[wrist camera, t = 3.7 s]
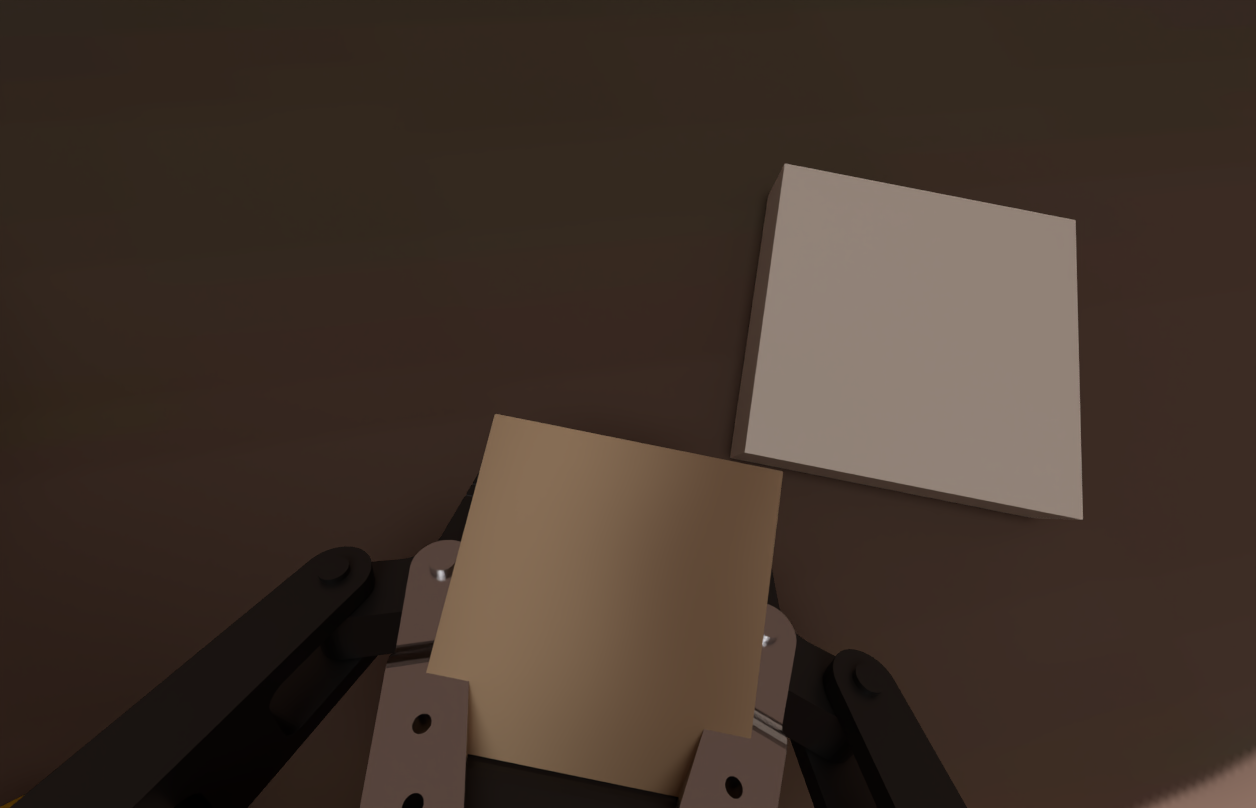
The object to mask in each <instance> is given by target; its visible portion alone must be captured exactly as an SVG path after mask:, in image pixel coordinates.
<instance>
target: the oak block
mask: <svg viewBox="0 0 1256 808" xmlns="http://www.w3.org/2000/svg"><path fill="white" fill-rule="evenodd" d="M782 476H783V471H778V470H773V469H768V468H763V467H758V466H753V465H748V464H743V463H738V462H733V461H728V460H723V459H718V458H713V457H708V456H703V455H698V454H693V453H688V452H683V451H678V450H673V449H668V448H663V447H658V446H653V445H648V444H643V443H638V442H633V441H628V440H623V439H618V438H613V437H608V436H603V435H598V434H594V433H589V432H584V431H579V430H574V429H569V428H564V427H559V426H554V425H549V424H544V423H539V422H534V421H529V420H524V419H519V418H514V417H509V416H504V415H499V414H495V416H494V420H493V423H492V427H491V431H490V435H489V439H488V442H487V446H486V450H485V454H484V457H483V461H482V465H481V469H480V472H479V476H478V480H477V484H476V487H475V491H474V495H473V499H472V502H471V506H470V510H469V514H468V517H467V521H466V525H465V529H464V532H463V536H462V540H461V544H460V547H459V551H458V555H457V559H456V562H455V566H454V570H453V574H452V577H451V581H450V585H449V589H448V592H447V596H446V600H445V604H444V607H443V611H442V615H441V619H440V623H439V626H438V630H437V634H436V638H435V641H434V645H433V649H432V653H431V656H430V660H429V664H428V668H427V671H426V673H430V674H435V675H440V676H445V677H450V678H455V679H460V680H465V681H469V731H468V754H471V755H476V756H481V757H486V758H491V759H496V760H500V761H505V762H510V763H515V764H520V765H525V766H530V767H535V768H539V769H544V770H549V771H554V772H559V773H564V774H569V775H573V776H578V777H583V778H588V779H593V780H598V781H603V782H608V783H612V784H617V785H622V786H627V787H632V788H637V789H642V790H646V791H651V792H656V793H661V794H666V795H671V796H676V797H679V795H680V791H681V788H682V785H683V782H684V779H685V777H686V774H687V771H688V769H689V766H690V764H691V761H692V759H693V756H694V753H695V751H696V748H697V746H698V743H699V741H700V738H701V735H702V733H703V730H704V729H706V730H711V731H716V732H721V733H726V734H731V735H735V736H740V737H745V738H750V739H751V734H752V726H753V717H754V709H755V701H756V692H757V684H758V676H759V667H760V659H761V651H762V642H763V634H764V626H765V618H766V609H767V601H768V593H769V584H770V576H771V568H772V559H773V551H774V543H775V534H776V526H777V518H778V509H779V501H780V493H781V484H782ZM427 730H428V729H427ZM427 730H424V731H422V732H420V733H419V734H422V733H424V732H426V731H427ZM727 793H728V792H727ZM728 794H729V793H728ZM729 795H730V794H729Z"/></svg>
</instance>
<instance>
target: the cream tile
mask: <svg viewBox="0 0 1256 808" xmlns="http://www.w3.org/2000/svg"><path fill="white" fill-rule="evenodd" d="M730 458H733V459H738V460H743V461H748V462H753V463H758V464H763V465H768V466H773V467H778V468H783V469H788V470H793V471H798V472H803V473H808V474H813V475H818V476H823V477H828V478H833V479H838V480H843V481H848V482H853V483H858V484H863V485H868V486H873V487H879V488H884V489H889V490H894V491H899V492H904V493H909V494H914V495H919V496H924V497H929V498H934V499H939V500H944V501H949V502H954V503H959V504H964V505H969V506H974V507H979V508H984V509H989V510H994V511H999V512H1004V513H1009V514H1014V515H1019V516H1024V517H1029V518H1048V519H1074V520H1083V506H1082V466H1081V425H1080V385H1079V344H1078V304H1077V264H1076V223H1075V220H1071V219H1066V218H1061V217H1056V216H1051V215H1046V214H1041V213H1036V212H1031V211H1025V210H1020V209H1015V208H1010V207H1005V206H1000V205H995V204H990V203H984V202H979V201H974V200H969V199H964V198H959V197H954V196H949V195H943V194H938V193H933V192H928V191H923V190H918V189H913V188H908V187H902V186H897V185H892V184H887V183H882V182H877V181H872V180H867V179H861V178H856V177H851V176H846V175H841V174H836V173H831V172H826V171H820V170H815V169H810V168H805V167H800V166H795V165H790V164H784V166H783V168H782V170H781V172H780V174H779V176H778V178H777V180H776V182H775V183H774V185H773V187H772V189H771V191H770V193H769V195H768V200H767V207H766V214H765V220H764V227H763V234H762V241H761V248H760V255H759V262H758V268H757V275H756V282H755V289H754V296H753V303H752V310H751V317H750V323H749V330H748V337H747V344H746V351H745V358H744V365H743V372H742V378H741V385H740V392H739V399H738V406H737V413H736V420H735V426H734V433H733V440H732V447H731V454H730Z"/></svg>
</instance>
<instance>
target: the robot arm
mask: <svg viewBox="0 0 1256 808" xmlns="http://www.w3.org/2000/svg"><path fill="white" fill-rule="evenodd" d="M478 476H479V473H478V475H477V477H476V478H475V480H474V482H473V485H471V487H470V489H469V490H468V492H467V495H466V496H465V497H464V499H463V500H462V502H461V504H460V505H459V507H458V509H457V511H456V512H455V514H454V516H453V517H452V519H451V521H450V522H449V524H448V526H447V527H446V529H445V531H444V532H443V534H442V536H441V537H440V539H439V540H438V541H437V542H434V543H432V544H430V545H428V546H426V547H424V548H423V549H422V550H420V551H419V552H418V553H417V554H416V556H414V557H411V558H407V559H400V560H389V561H377V562H371V559H370V557H369V555H368V554H367V553H366V552H365V551H363V550H361V549H359V548H355V547H338V548H333V549H330V550H327V551H325V552H323V553H320V554H319V555H317V556H315V557H314V558H312V559H311V560H310V561H309V562H307V563H306V564H305V565H304V566H302V567H301V568H300V569H299V570H298V571H296V572H295V573H294V574H293V575H291V576H290V577H289V578H288V579H287V580H285V581H284V582H283V583H282V584H281V585H279V586H278V587H277V588H276V589H274V590H273V591H272V592H271V593H270V594H268V595H267V596H266V597H265V598H264V599H262V600H261V601H260V602H259V603H257V604H256V605H255V606H254V607H253V608H251V609H250V610H249V611H248V612H247V613H245V614H244V615H243V616H242V617H240V618H239V619H238V620H237V621H236V622H234V623H233V624H232V625H231V626H230V627H228V628H227V629H226V630H225V631H223V632H222V633H221V634H220V635H219V636H217V637H216V638H215V639H214V640H213V641H211V642H210V643H209V644H208V645H206V646H205V647H204V648H203V649H202V650H200V651H199V652H198V653H197V654H196V655H194V656H193V657H192V658H191V659H189V660H188V661H187V662H186V663H185V664H183V665H182V666H181V667H180V668H179V669H177V670H176V671H175V672H174V673H172V674H171V675H170V676H169V677H168V678H166V679H165V680H164V681H163V682H162V683H160V684H159V685H158V686H157V687H155V688H154V689H153V690H152V691H151V692H149V693H148V694H147V695H146V696H145V697H143V698H142V699H141V700H140V701H138V702H137V703H136V704H135V705H134V706H132V707H131V708H130V709H129V710H128V711H126V712H125V713H124V714H123V715H121V716H120V717H119V718H118V719H117V720H115V721H114V722H113V723H112V724H111V725H109V726H108V727H107V728H106V729H104V730H103V731H102V732H101V733H100V734H98V735H97V736H96V737H95V738H94V739H92V740H91V741H90V742H89V743H87V744H86V745H85V746H84V747H83V748H81V749H80V750H79V751H78V752H77V753H75V754H74V755H73V756H72V757H70V758H69V759H68V760H67V761H66V762H64V763H63V764H62V765H61V766H59V767H58V768H57V769H56V770H55V771H53V772H52V773H51V774H50V775H49V776H47V777H46V778H45V779H44V780H42V781H41V782H40V783H39V784H38V785H36V786H35V787H34V788H33V789H32V790H30V791H29V792H28V793H27V794H25V795H24V796H23V797H22V798H21V799H19V800H18V801H17V802H16V803H15V804H13V805H12V806H11V807H10V808H248V807H249V805H250V804H251V803H252V802H253V801H254V800H255V798H256V797H257V796H258V795H259V794H260V793H261V791H262V790H263V789H264V788H265V787H266V786H267V784H268V783H269V782H270V781H271V780H272V779H273V777H274V776H275V775H276V774H277V773H278V772H279V770H280V769H281V768H282V767H283V766H284V765H285V763H286V762H287V761H288V760H289V759H290V758H291V756H292V755H293V754H294V753H295V752H296V750H297V749H298V748H299V747H300V746H301V745H302V743H303V742H304V741H305V740H306V739H307V738H308V736H309V735H310V734H311V733H312V732H313V731H314V729H315V728H316V727H317V726H318V725H319V724H320V722H321V721H322V720H323V719H324V718H325V717H326V715H327V714H328V713H329V712H330V711H331V710H332V708H333V707H334V706H335V705H336V704H337V703H338V701H339V700H340V699H341V698H342V697H343V695H344V694H345V693H346V692H347V691H348V690H349V688H350V687H351V686H352V685H353V684H354V683H355V681H356V680H357V679H358V678H359V677H360V676H361V674H362V673H363V672H364V671H365V670H366V669H367V667H368V666H369V665H370V664H371V663H372V662H373V660H374V659H375V658H376V657H377V656H378V655H383V654H390V653H393V654H391V655H390V656H389V659H388V661H387V665H386V669H385V674H384V679H383V685H382V690H381V696H380V701H379V707H378V712H377V717H376V723H375V728H374V734H373V739H372V744H371V750H370V755H369V761H368V766H367V772H366V777H365V782H364V788H363V793H362V799H361V804H360V808H778V802H779V795H780V789H781V783H782V777H783V770H784V764H785V758H786V751H787V737H788V738H790V740H791V743H792V746H793V748H794V751H795V754H796V757H797V760H798V762H799V765H800V768H801V771H802V774H803V776H804V779H805V782H806V785H807V788H808V790H809V793H810V796H811V799H812V802H813V804H814V807H815V808H967V807H966V805H965V803H964V802H963V800H962V798H961V796H960V795H959V793H958V791H957V789H956V788H955V786H954V784H953V782H952V781H951V779H950V777H949V775H948V774H947V772H946V770H945V768H944V767H943V765H942V763H941V761H940V760H939V758H938V756H937V754H936V752H935V751H934V749H933V747H932V745H931V744H930V742H929V740H928V738H927V737H926V735H925V733H924V731H923V730H922V728H921V726H920V724H919V723H918V721H917V719H916V717H915V716H914V714H913V712H912V710H911V709H910V707H909V705H908V703H907V702H906V700H905V698H904V696H903V695H902V693H901V691H900V689H899V688H898V686H897V684H896V682H895V681H894V679H893V678H892V676H891V674H890V673H889V672H888V671H887V669H886V668H885V667H884V666H883V665H882V664H881V663H879V662H878V661H877V660H876V659H874V658H873V657H871V656H870V655H868V654H866V653H864V652H861V651H858V650H852V649H848V650H843V651H841V652H840V653H838V654H837V655H836V656H834V655H832V654H830V653H828V652H826V651H824V650H822V649H820V648H818V647H816V646H814V645H812V644H810V643H809V642H807V641H805V640H804V639H802V638H801V637H800V636H798V635H797V634H796V633H795V631H794V629H793V626H792V625H791V623H790V621H789V620H788V619H787V617H786V616H785V615H784V614H783V613H782V612H781V611H780V608H779V604H778V599H777V594H776V589H775V583H774V578H773V573H772V568H771V576H770V584H769V593H768V601H767V609H766V618H765V626H764V634H763V642H762V651H761V659H760V667H759V676H758V684H757V692H756V701H755V709H754V717H753V726H752V734H751V739H750V738H745V737H740V736H735V735H731V734H726V733H721V732H716V731H711V730H706V729H704V730H703V733H702V735H701V738H700V741H699V743H698V746H697V748H696V751H695V753H694V756H693V759H692V761H691V764H690V766H689V769H688V771H687V774H686V777H685V779H684V782H683V785H682V788H681V791H680V795H679V797H676V796H671V795H666V794H661V793H656V792H651V791H646V790H642V789H637V788H632V787H627V786H622V785H617V784H612V783H608V782H603V781H598V780H593V779H588V778H583V777H578V776H573V775H569V774H564V773H559V772H554V771H549V770H544V769H539V768H535V767H530V766H525V765H520V764H515V763H510V762H505V761H500V760H496V759H491V758H486V757H481V756H476V755H471V754H468V731H469V681H465V680H460V679H455V678H450V677H445V676H440V675H435V674H430V673H426V671H427V668H428V664H429V660H430V656H431V653H432V649H433V645H434V641H435V638H436V634H437V630H438V626H439V623H440V619H441V615H442V611H443V607H444V604H445V600H446V596H447V592H448V589H449V585H450V581H451V577H452V574H453V570H454V566H455V562H456V559H457V555H458V551H459V547H460V544H461V540H462V536H463V532H464V529H465V525H466V521H467V517H468V514H469V510H470V506H471V502H472V499H473V495H474V491H475V487H476V484H477V480H478ZM427 729H428V730H427ZM424 730H427V731H426V732H424V733H422V734H419V733H420V732H422V731H424ZM727 792H728V793H729V794H730V795H729V794H728V793H727Z"/></svg>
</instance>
